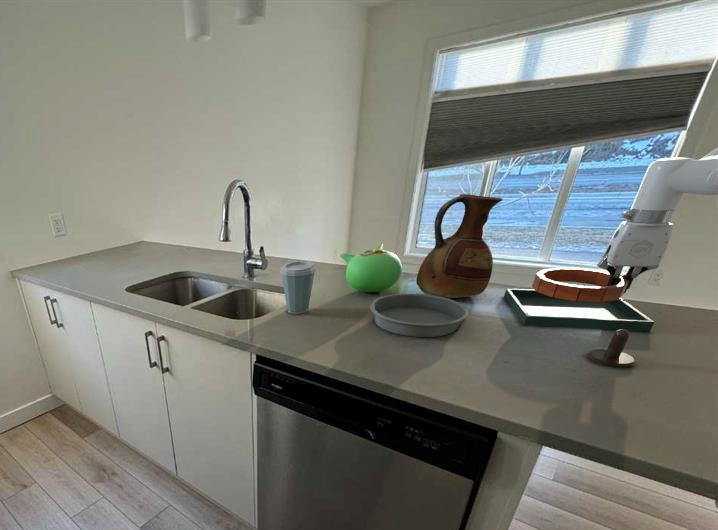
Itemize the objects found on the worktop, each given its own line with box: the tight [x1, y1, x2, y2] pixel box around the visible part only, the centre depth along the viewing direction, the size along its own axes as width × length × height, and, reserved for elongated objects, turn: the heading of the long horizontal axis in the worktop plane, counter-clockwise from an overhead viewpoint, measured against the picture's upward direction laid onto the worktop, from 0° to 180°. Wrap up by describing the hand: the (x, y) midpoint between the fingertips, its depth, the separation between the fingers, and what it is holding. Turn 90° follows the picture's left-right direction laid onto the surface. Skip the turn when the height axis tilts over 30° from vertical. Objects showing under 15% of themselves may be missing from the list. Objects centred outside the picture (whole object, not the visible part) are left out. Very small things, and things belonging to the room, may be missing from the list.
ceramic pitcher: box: [416, 193, 504, 300], centre depth 124 cm, size 20×20×30 cm
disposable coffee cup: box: [280, 259, 316, 315], centre depth 126 cm, size 11×11×15 cm
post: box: [587, 329, 635, 369], centre depth 87 cm, size 7×7×7 cm
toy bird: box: [339, 243, 403, 293], centre depth 138 cm, size 18×17×15 cm
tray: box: [503, 288, 655, 333], centre depth 111 cm, size 26×24×3 cm
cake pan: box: [370, 293, 470, 338], centre depth 113 cm, size 25×25×4 cm
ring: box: [531, 267, 629, 302], centre depth 108 cm, size 18×18×4 cm
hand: (615, 291), depth 106 cm, fingers closed on ring, 1 cm apart
